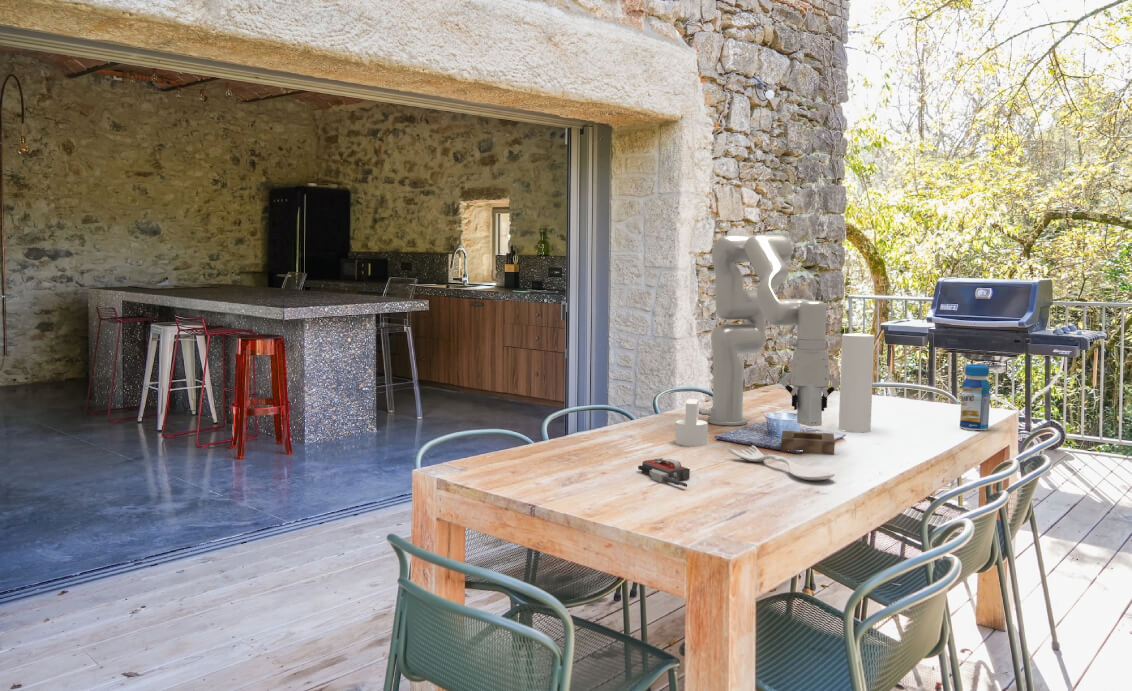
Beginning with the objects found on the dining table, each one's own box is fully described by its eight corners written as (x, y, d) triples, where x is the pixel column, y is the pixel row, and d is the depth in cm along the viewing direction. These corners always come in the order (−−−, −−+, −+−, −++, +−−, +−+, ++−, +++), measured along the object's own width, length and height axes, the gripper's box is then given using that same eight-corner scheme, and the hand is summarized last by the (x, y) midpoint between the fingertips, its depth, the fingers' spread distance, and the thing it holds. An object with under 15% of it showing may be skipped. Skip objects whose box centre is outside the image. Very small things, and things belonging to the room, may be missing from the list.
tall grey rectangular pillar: (874, 432, 269) (878, 334, 266) (843, 432, 269) (847, 334, 266) (864, 427, 278) (868, 332, 275) (834, 426, 278) (838, 331, 275)
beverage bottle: (993, 431, 272) (997, 367, 270) (966, 431, 272) (969, 367, 270) (981, 426, 281) (984, 364, 279) (954, 426, 281) (957, 363, 279)
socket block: (780, 451, 242) (781, 438, 241) (782, 442, 253) (782, 430, 253) (834, 454, 238) (834, 441, 238) (833, 445, 250) (833, 433, 249)
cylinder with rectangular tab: (676, 439, 257) (677, 398, 256) (707, 440, 256) (708, 399, 254) (674, 445, 249) (675, 403, 247) (706, 446, 247) (707, 404, 246)
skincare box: (822, 425, 243) (823, 382, 242) (808, 426, 241) (809, 382, 240) (808, 422, 248) (810, 379, 247) (795, 423, 247) (796, 380, 246)
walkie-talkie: (630, 473, 217) (682, 492, 200) (630, 455, 216) (683, 473, 199) (658, 469, 221) (712, 487, 204) (659, 452, 221) (712, 468, 204)
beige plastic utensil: (752, 456, 237) (752, 443, 236) (842, 483, 209) (843, 468, 208) (726, 459, 232) (726, 446, 232) (814, 487, 204) (815, 473, 204)
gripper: (778, 345, 241) (776, 410, 243) (844, 347, 237) (842, 413, 239) (779, 343, 249) (777, 406, 250) (843, 345, 244) (841, 409, 246)
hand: (809, 409), depth 244 cm, fingers closed on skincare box, 6 cm apart
